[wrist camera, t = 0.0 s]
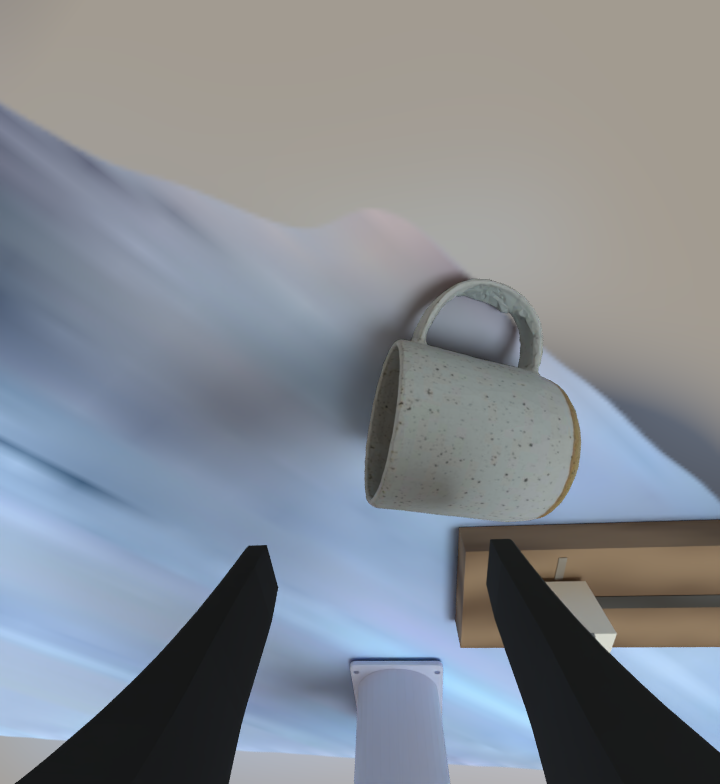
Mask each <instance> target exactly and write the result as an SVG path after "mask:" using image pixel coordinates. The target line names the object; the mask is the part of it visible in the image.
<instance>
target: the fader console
mask: <svg viewBox="0 0 720 784" xmlns="http://www.w3.org/2000/svg"><path fill="white" fill-rule="evenodd" d="M490 539H511V540H512V541H513V542H514V543H515V544H516V546H517V547H518V548H519V550H520V551H521V552H522V554H523V555H524V556H525V557H526V559H527V560H528V561H529V563H530V564H531V565H532V566H533V568H534V569H535V570H536V571H537V573H538V574H539V575H540V576H541V578H542V579H543V580H544V581H545V582H561V581H586V583H587V585H588V586H589V588H590V590H591V591H592V593H593V595H594V596H595V598H596V600H597V601H598V603H599V605H600V606H601V608H602V610H603V611H604V613H605V615H606V616H607V618H608V620H609V621H610V623H611V625H612V626H613V628H614V630H615V631H616V633H617V635H616V638H615V640H614V643H613V646H612V647H720V520H694V521H661V522H627V523H593V524H559V525H525V526H492V527H459V541H458V566H457V590H456V615H455V622H456V627H457V632H458V637H459V642H460V647H461V648H504V645H503V642H502V639H501V636H500V634H499V631H498V628H497V625H496V622H495V619H494V615H493V611H492V607H491V603H490V598H489V594H488V590H487V586H486V579H487V568H488V557H489V546H490Z"/></svg>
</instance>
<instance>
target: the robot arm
mask: <svg viewBox="0 0 720 784" xmlns="http://www.w3.org/2000/svg"><path fill="white" fill-rule="evenodd" d="M486 586H487V590H488V594H489V598H490V603H491V607H492V611H493V615H494V619H495V622H496V625H497V628H498V631H499V634H500V636H501V639H502V642H503V645H504V648H505V651H506V654H507V657H508V659H509V662H510V665H511V668H512V671H513V674H514V676H515V679H516V682H517V685H518V688H519V691H520V693H521V696H522V699H523V702H524V705H525V708H526V711H527V714H528V717H529V720H530V723H531V727H532V730H533V734H534V737H535V741H536V745H537V748H538V752H539V756H540V759H541V763H542V767H543V771H544V774H545V778H546V782H547V784H720V752H719V751H717V750H716V749H715V748H714V747H713V746H712V745H710V744H709V743H708V742H707V741H706V740H705V739H703V738H702V737H701V736H700V735H699V734H698V733H696V732H695V731H694V730H693V729H692V728H691V727H689V726H688V725H687V724H686V723H685V722H684V721H682V720H681V719H680V718H679V717H678V716H677V715H675V714H674V713H673V712H672V711H671V710H670V709H668V708H667V707H666V706H665V705H664V704H663V703H662V702H661V701H660V700H658V699H657V698H656V697H655V696H654V695H653V694H652V693H651V692H650V691H649V690H648V689H647V688H645V687H644V686H643V685H642V684H641V683H640V682H639V681H638V680H637V679H636V678H635V677H634V676H633V675H632V674H631V673H630V672H629V671H627V670H626V669H625V668H624V667H623V666H622V665H621V664H620V663H619V662H618V661H617V660H616V659H615V658H614V657H613V656H612V655H611V654H610V653H609V652H608V651H607V650H606V649H605V648H604V647H603V646H602V645H601V644H600V643H599V642H598V641H597V640H596V638H595V637H594V636H593V635H592V634H591V633H590V632H589V631H588V630H587V629H586V628H585V627H584V626H583V625H582V624H581V622H580V621H579V620H578V619H577V618H576V617H575V616H574V615H573V614H572V613H571V611H570V610H569V609H568V608H567V607H566V606H565V605H564V603H563V602H562V601H561V600H560V599H559V598H558V597H557V595H556V594H555V593H554V592H553V591H552V590H551V588H550V587H549V586H548V585H547V584H546V582H545V581H544V580H543V579H542V578H541V576H540V575H539V574H538V573H537V571H536V570H535V569H534V568H533V566H532V565H531V564H530V563H529V561H528V560H527V559H526V557H525V556H524V555H523V554H522V552H521V551H520V550H519V548H518V547H517V546H516V544H515V543H514V542H513V541H512V540H511V539H490V546H489V557H488V568H487V579H486ZM277 591H278V585H277V582H276V578H275V574H274V571H273V567H272V563H271V559H270V556H269V552H268V548H267V545H257V546H248V547H247V548H246V549H245V551H244V552H243V553H242V555H241V556H240V557H239V559H238V560H237V561H236V562H235V564H234V565H233V566H232V568H231V569H230V570H229V572H228V573H227V574H226V576H225V577H224V578H223V579H222V581H221V582H220V583H219V585H218V586H217V587H216V588H215V590H214V591H213V592H212V593H211V595H210V596H209V597H208V598H207V599H206V601H205V602H204V603H203V604H202V606H201V607H200V608H199V609H198V611H197V612H196V613H195V614H194V615H193V616H192V618H191V619H190V620H189V621H188V622H187V623H186V624H185V626H184V627H183V628H182V629H181V630H180V631H179V633H178V634H177V635H176V636H175V637H174V638H173V639H172V640H171V642H170V643H169V644H168V645H167V646H166V647H165V648H164V649H163V650H162V651H161V652H160V653H159V655H158V656H157V657H156V658H155V659H154V660H153V661H152V662H151V663H150V664H149V665H148V666H147V667H146V668H145V669H144V670H143V671H142V672H141V673H140V674H139V675H138V676H137V677H136V678H135V679H134V680H133V681H132V682H131V683H130V684H129V685H128V686H127V687H126V688H125V689H124V690H123V691H122V692H121V693H120V694H119V695H117V696H116V697H115V698H114V699H113V700H112V701H111V702H110V703H109V704H108V705H107V706H106V707H105V708H104V709H103V710H102V711H100V712H99V713H98V714H97V715H96V716H95V717H94V718H93V719H92V720H90V721H89V722H88V723H87V724H86V725H85V726H84V727H82V728H81V729H80V730H79V731H78V732H77V733H75V734H74V735H73V736H72V737H71V738H70V739H68V740H67V741H66V742H65V743H64V744H63V745H62V746H60V747H59V748H58V749H57V750H56V751H55V752H53V753H52V754H51V755H50V756H49V757H47V758H46V759H45V760H44V761H43V762H41V763H40V764H39V765H38V766H37V767H35V768H34V769H33V770H32V771H30V772H29V773H28V774H27V775H25V776H24V777H23V778H21V779H20V780H19V781H18V782H16V783H15V784H229V780H230V775H231V770H232V765H233V760H234V755H235V751H236V747H237V742H238V738H239V733H240V729H241V724H242V721H243V717H244V713H245V709H246V706H247V702H248V699H249V696H250V692H251V689H252V686H253V683H254V679H255V676H256V673H257V669H258V666H259V663H260V659H261V656H262V653H263V649H264V646H265V643H266V639H267V636H268V633H269V629H270V626H271V622H272V617H273V612H274V607H275V602H276V596H277ZM350 671H351V677H352V683H353V689H354V695H355V701H356V707H357V727H356V751H355V775H354V784H450V777H449V770H448V762H447V754H446V747H445V739H444V732H443V724H442V694H443V665H442V663H441V662H440V661H353V662H351V663H350Z"/></svg>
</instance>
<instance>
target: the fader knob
mask: <svg viewBox="0 0 720 784" xmlns="http://www.w3.org/2000/svg"><path fill="white" fill-rule="evenodd" d="M546 584H547V585H548V586H549V587H550V588H551V590H552V591H553V592H554V593H555V594H556V595H557V597H558V598H559V599H560V600H561V601H562V602H563V603H564V605H565V606H566V607H567V608H568V609H569V610H570V611H571V613H572V614H573V615H574V616H575V617H576V618H577V619H578V620H579V621H580V622H581V624H582V625H583V626H584V627H585V628H586V629H587V630H588V631H589V632H590V633H591V634H592V635H593V636H594V637H595V638H596V640H597V641H598V642H599V643H600V644H601V645H602V646H603V647H604V648H605V649H606V650H607V651H608V652H609V653H610V652H611V649H612V646H613V643H614V640H615V638H616V635H617V633H616V631H615V630H614V628H613V626H612V625H611V623H610V621H609V620H608V618H607V616H606V615H605V613H604V611H603V610H602V608H601V606H600V605H599V603H598V601H597V600H596V598H595V596H594V595H593V593H592V591H591V590H590V588H589V586H588V585H587V583H586V581H561V582H546Z"/></svg>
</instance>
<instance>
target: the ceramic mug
mask: <svg viewBox="0 0 720 784" xmlns="http://www.w3.org/2000/svg"><path fill="white" fill-rule="evenodd" d="M456 296H458V297H459V296H467V297H470V298H473V299H476V300H479V301H482V302H486V303H488V304H490V305H492V306H494V307H496V308H497V309H498V310H499V311H500V312H502V313H510V314H511V315H512V317H513V318H514V320H515V322H516V324H517V327H518V329H519V334H520V339H519V340H520V343H521V346H520V359H519V364H518V368H517V367H513V366H509V365H504V364H500V363H495V362H492V361H488V360H482V359H478V358H474V357H471V356H468V355H464V354H460V353H456V352H453V351H450V350H444V349H441V348H438V347H432V346H429V345H428V344H427V342H426V335H427V332H428V329H429V327H430V325H431V324H432V322H433V320H434V319H435V317H436V316H437V314H438V313H439V311H440V310H441V308H442V307H443V306H444V305H445V304H446V303H447V302H448V301H450V300H452V299H453V298H454V297H456ZM542 347H543V335H542V329H541V323H540V320H539V317H538V316H537V314H536V312H535V310H534V308H533V307H532V305H531V304H530V303H529V302H528V301H527V299H526V298H525V297H524V296H523V295H521V294H520V293H519V292H517V291H516V290H514V289H513V288H511V287H509V286H507V285H505V284H501V283H498V282H495V281H492V280H486V279H470V280H467V281H464V282H460V283H457V284H456V285H454V286H453V287H451V288H449V289H448V290H446V291H445V292H444V293H442V294H441V295H440V296H438V297H437V298H436V299H435V300H434V301H433V302H432V303H431V304H430V306H429V307H428V308H427V309H426V311H425V312H424V314H423V316H422V317H421V319H420V321H419V323H418V325H417V327H416V329H415V331H414V334H413V337H412V340H411V341H408V340H403V339H401V340H397V341H395V342H394V344H393V345H392V347H391V349H390V350H389V352H388V355H387V357H386V359H385V362H384V364H383V368H382V372H381V376H380V379H379V381H378V385H377V389H376V394H375V398H374V402H373V408H372V412H371V418H370V424H369V430H368V437H367V443H366V457H365V492H366V499H367V501H368V502H369V504H371V505H372V506H374V507H376V508H383V509H395V510H405V511H412V512H420V513H429V514H437V515H446V516H457V517H467V518H474V519H482V520H490V521H500V522H516V521H527V520H533V519H538V518H541V517H544V516H546V515H547V514H549V513H550V512H552V511H553V510H554V509H555V508H556V507H557V506H558V505H559V504H560V503H561V502H562V501H563V499H564V498H565V496H566V495H567V493H568V492H569V489H570V487H571V485H572V483H573V481H574V478H575V476H576V473H577V470H578V466H579V459H580V450H581V436H580V427H579V423H578V419H577V415H576V411H575V409H574V407H573V405H572V403H571V401H570V399H569V398H568V396H567V394H566V393H565V392H564V390H563V389H561V388H560V387H559V386H558V385H557V384H555V383H554V382H552V381H550V380H548V379H546V378H544V377H542V376H540V374H539V373H538V367H539V365H540V363H541V357H542V353H543V349H542Z"/></svg>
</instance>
